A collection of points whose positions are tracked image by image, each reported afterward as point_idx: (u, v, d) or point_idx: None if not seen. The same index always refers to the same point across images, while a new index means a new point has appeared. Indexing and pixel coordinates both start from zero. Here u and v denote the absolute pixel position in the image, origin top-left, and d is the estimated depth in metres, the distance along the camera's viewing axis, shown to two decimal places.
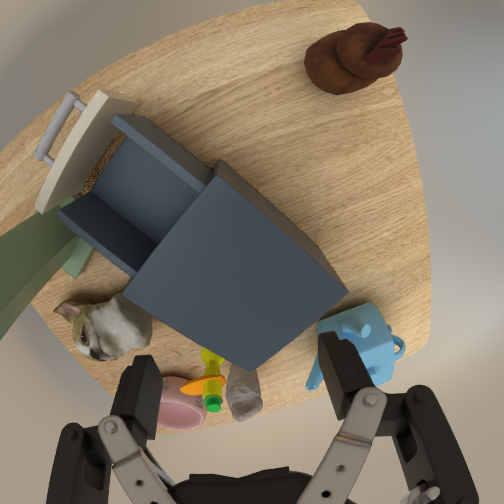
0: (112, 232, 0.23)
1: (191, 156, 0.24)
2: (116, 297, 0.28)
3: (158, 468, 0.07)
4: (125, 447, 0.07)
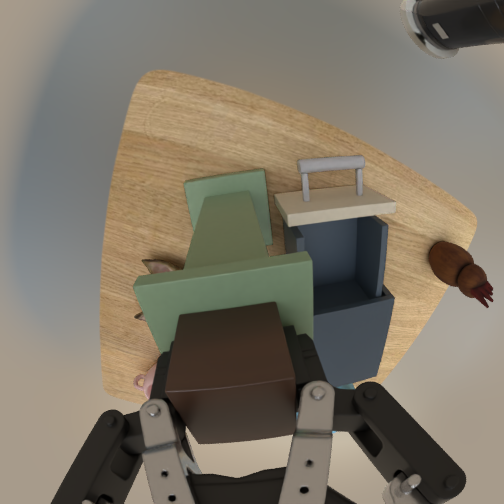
0: None
1: None
2: None
3: (190, 460, 0.08)
4: (162, 434, 0.08)
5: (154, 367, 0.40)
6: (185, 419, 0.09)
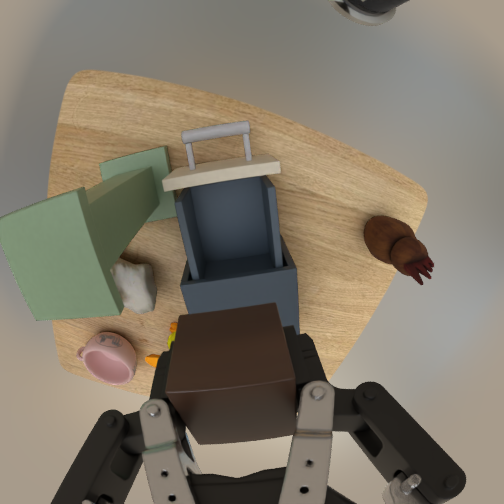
0: (194, 236, 0.31)
1: None
2: (145, 268, 0.35)
3: (190, 460, 0.08)
4: (162, 434, 0.08)
5: (91, 338, 0.40)
6: (185, 420, 0.09)
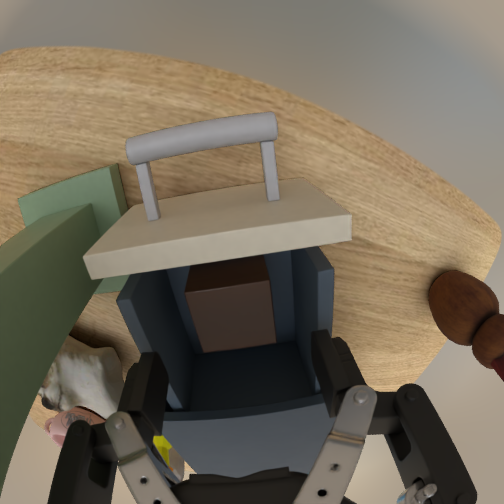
0: (169, 339, 0.16)
1: None
2: (103, 362, 0.20)
3: (164, 466, 0.08)
4: (132, 444, 0.07)
5: (57, 415, 0.25)
6: (195, 322, 0.15)
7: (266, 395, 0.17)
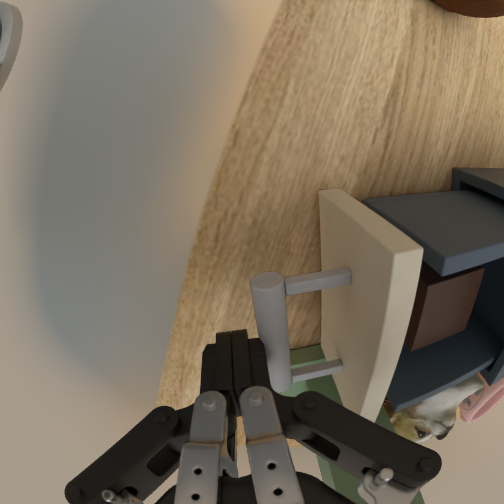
0: (442, 349, 0.15)
1: (456, 196, 0.14)
2: None
3: (231, 460, 0.08)
4: (211, 430, 0.08)
5: (460, 408, 0.27)
6: (437, 340, 0.13)
7: None
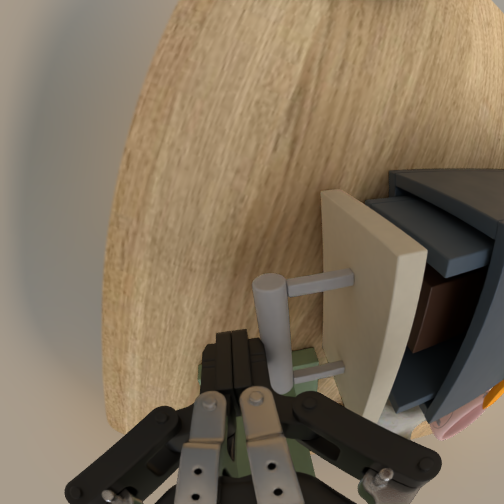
0: (443, 351, 0.14)
1: None
2: None
3: (231, 460, 0.08)
4: (211, 430, 0.08)
5: (430, 425, 0.27)
6: (439, 341, 0.13)
7: None
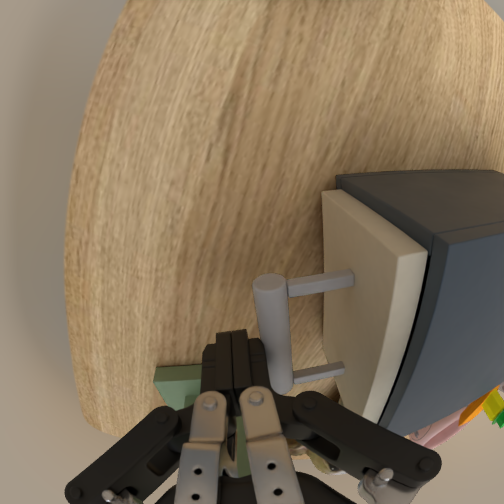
0: None
1: None
2: None
3: (231, 460, 0.08)
4: (211, 430, 0.08)
5: (409, 436, 0.27)
6: None
7: None
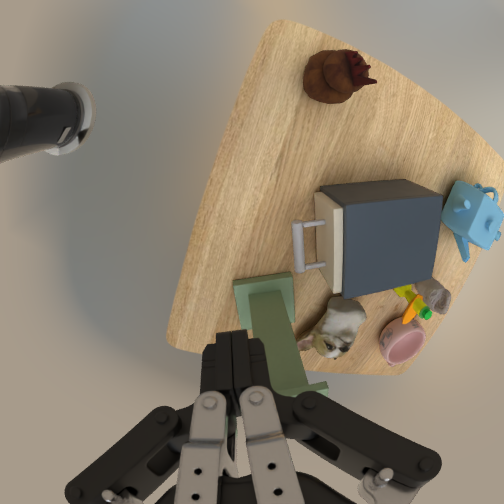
0: None
1: None
2: (330, 307, 0.42)
3: (231, 460, 0.08)
4: (211, 430, 0.08)
5: None
6: None
7: None
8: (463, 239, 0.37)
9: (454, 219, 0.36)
